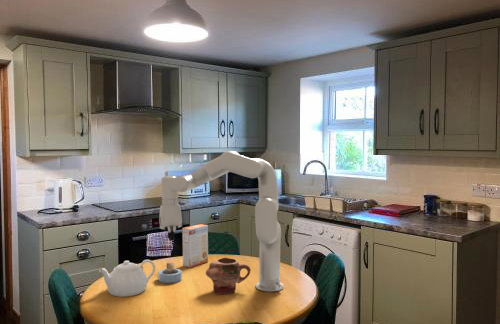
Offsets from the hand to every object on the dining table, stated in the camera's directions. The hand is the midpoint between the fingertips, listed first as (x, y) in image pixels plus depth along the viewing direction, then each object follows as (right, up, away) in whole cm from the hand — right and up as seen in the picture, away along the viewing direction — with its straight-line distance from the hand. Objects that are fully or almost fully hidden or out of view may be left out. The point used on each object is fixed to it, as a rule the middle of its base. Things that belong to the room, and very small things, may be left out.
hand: (171, 240), depth 203 cm
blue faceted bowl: (-1, -20, +1) cm, 20 cm away
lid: (-1, -19, +1) cm, 19 cm away
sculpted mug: (+28, -21, -13) cm, 37 cm away
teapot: (-17, -20, -14) cm, 30 cm away
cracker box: (+8, -19, +28) cm, 34 cm away
